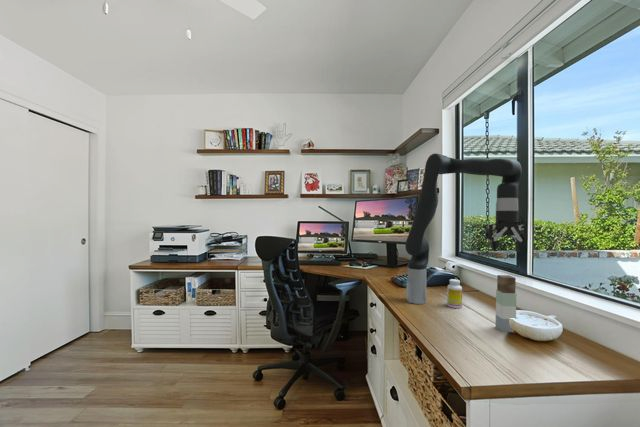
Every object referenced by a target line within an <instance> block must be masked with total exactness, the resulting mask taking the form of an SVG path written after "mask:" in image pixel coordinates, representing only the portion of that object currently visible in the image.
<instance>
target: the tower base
mask: <svg viewBox="0 0 640 427" xmlns="http://www.w3.org/2000/svg"><path fill="white" fill-rule="evenodd" d="M495 328H497V330H499V331H501V332H502V333H515V332H514V331H513V330H512V329H511V328H510V326H509V319H502V318H500V317H499V316H497V315H496V314H495Z"/></svg>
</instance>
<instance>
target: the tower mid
mask: <svg viewBox="0 0 640 427" xmlns="http://www.w3.org/2000/svg"><path fill="white" fill-rule="evenodd" d="M496 315H497V316H499V317H500V318H502V319H509V318H515V319H516V320H517V306H516V307H515V306H502V305H500V304H499V303H497V302H496V301H495V316H496Z"/></svg>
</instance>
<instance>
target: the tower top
mask: <svg viewBox="0 0 640 427" xmlns="http://www.w3.org/2000/svg"><path fill="white" fill-rule="evenodd" d="M495 294H496V295H495V300H496V301H495V303H496V302H497V303H499V304H500V305H502V306H515V307H516V308H517V293H516V292H515V293H502V292H500V291H498V290H497V289H496V292H495Z"/></svg>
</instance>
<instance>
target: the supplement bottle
mask: <svg viewBox="0 0 640 427" xmlns="http://www.w3.org/2000/svg"><path fill="white" fill-rule="evenodd" d="M460 284H461V281H460V279H455V278H454V279H453V278H451V279H449V284H448V285H447V286H446V287H447V290H446V291H447V293H446V296H447V297H446V304H447V306H448V307H449V308H452V309H462V307H463V287H462V286H461V285H460Z"/></svg>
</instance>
